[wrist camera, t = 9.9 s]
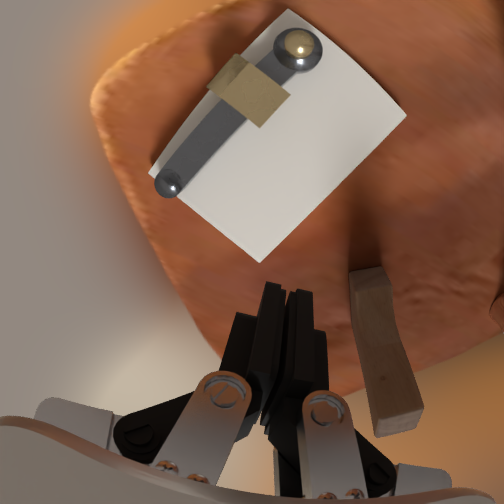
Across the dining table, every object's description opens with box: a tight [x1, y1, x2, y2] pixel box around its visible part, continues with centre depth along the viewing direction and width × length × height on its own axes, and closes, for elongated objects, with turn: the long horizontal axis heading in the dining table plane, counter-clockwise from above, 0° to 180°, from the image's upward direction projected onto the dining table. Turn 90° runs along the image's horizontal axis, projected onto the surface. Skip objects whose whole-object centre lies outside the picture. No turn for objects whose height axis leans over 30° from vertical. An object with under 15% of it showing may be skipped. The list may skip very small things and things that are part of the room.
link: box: [154, 28, 323, 198], centre depth 25 cm, size 22×4×2 cm, turn 136°
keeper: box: [206, 30, 314, 128], centre depth 22 cm, size 9×6×5 cm, turn 140°
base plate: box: [148, 9, 407, 263], centre depth 27 cm, size 23×16×2 cm
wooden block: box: [349, 266, 424, 438], centre depth 28 cm, size 9×4×18 cm, turn 14°
